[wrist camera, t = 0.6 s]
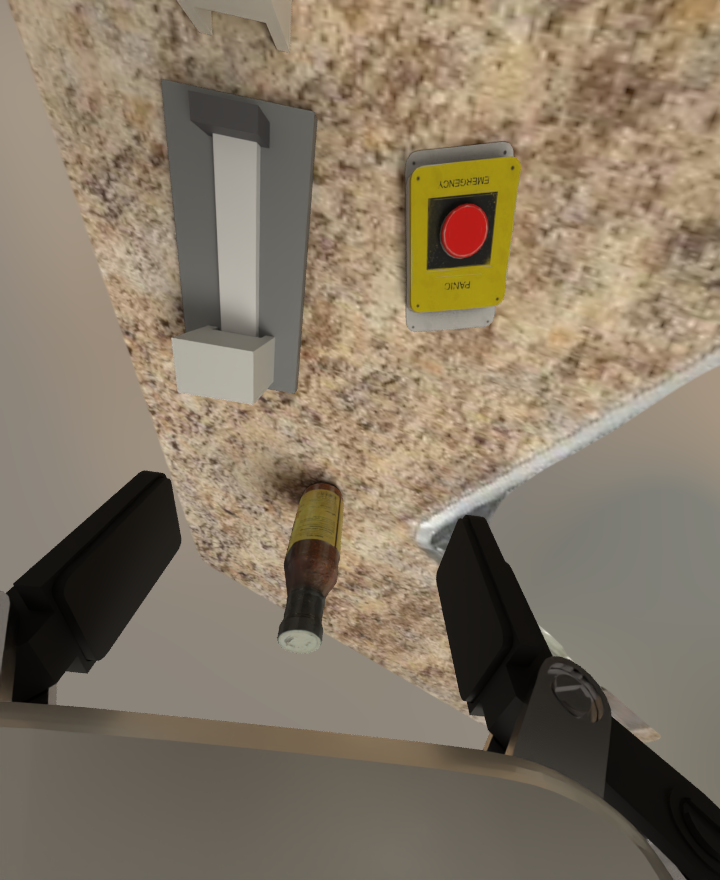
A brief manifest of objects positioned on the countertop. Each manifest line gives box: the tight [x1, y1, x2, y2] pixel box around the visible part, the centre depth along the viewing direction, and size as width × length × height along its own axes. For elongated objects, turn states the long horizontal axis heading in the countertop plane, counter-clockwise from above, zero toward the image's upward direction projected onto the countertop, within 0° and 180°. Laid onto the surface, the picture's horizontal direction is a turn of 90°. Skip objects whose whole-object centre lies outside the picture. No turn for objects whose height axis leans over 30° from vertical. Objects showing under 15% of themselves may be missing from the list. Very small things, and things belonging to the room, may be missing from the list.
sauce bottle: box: [277, 483, 344, 654], centre depth 37 cm, size 7×6×20 cm
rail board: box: [161, 79, 317, 405], centre depth 28 cm, size 24×12×8 cm, turn 171°
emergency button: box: [405, 142, 521, 332], centre depth 29 cm, size 9×4×15 cm
